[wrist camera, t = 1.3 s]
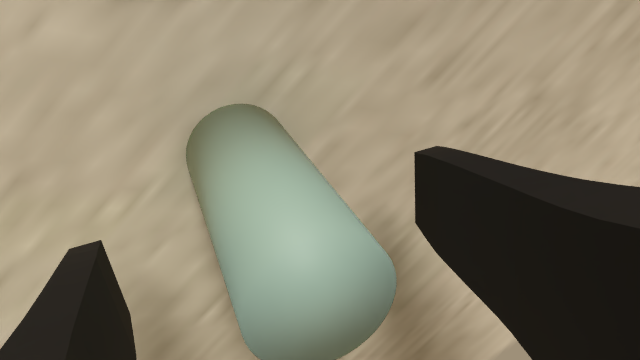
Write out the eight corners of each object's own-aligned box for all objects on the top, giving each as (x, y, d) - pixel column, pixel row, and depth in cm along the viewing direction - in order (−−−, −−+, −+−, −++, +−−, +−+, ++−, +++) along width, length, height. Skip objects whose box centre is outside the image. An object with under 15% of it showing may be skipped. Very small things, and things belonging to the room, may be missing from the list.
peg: (284, 97, 15) (401, 218, 9) (289, 188, 16) (391, 343, 10) (179, 111, 14) (232, 256, 8) (193, 206, 15) (247, 387, 9)
